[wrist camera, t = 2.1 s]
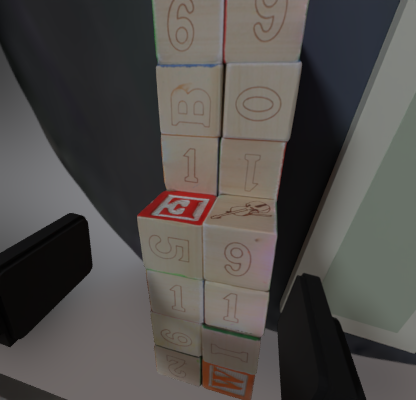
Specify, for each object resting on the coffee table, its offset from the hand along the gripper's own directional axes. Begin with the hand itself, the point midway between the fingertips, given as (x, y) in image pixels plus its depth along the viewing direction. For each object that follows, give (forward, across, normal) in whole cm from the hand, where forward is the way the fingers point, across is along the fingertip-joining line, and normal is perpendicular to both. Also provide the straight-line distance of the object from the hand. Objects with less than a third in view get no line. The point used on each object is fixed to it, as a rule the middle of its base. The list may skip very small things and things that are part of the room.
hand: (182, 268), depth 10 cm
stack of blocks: (+13, -1, -1) cm, 13 cm away
